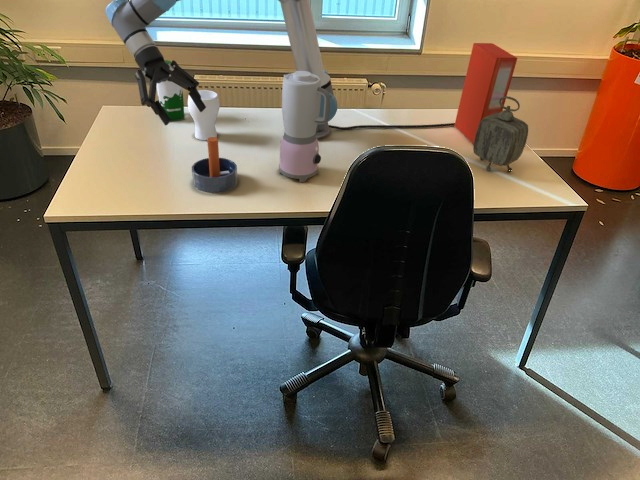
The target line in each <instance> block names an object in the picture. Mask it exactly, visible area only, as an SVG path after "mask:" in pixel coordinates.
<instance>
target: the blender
mask: <svg viewBox="0 0 640 480" xmlns="http://www.w3.org/2000/svg"><path fill="white" fill-rule="evenodd" d="M295 71H296V70H295ZM295 71H293V72H289V73H285V74H283V78H282V88H281V89H282V91H281V114H282V123H283V128H284V130H283V131H284V133H283V135H282V138H281V139H280V142H279V167H278V169H279V170H278V171H279V174H280V175H281V174H282V175H283V176H285V177H288V178H291V179H295V180H299V183H306V182H307V179H309V178H312V177H313V176H316V175H318V170H319V169H318V168H319V164H320V163H321V160H322V156H321V155H320V154H319V153H320V144H319V139H317V138H316V134H315V133H316V127H317V123H326V122H327V121H328V119H329V112H330V94H329V92H328V91H327V90H325V89H323V88H321V80H320V78H319V77H318V76H316V75H314V74H311V73H310V72H307V71H296V72H295ZM321 95H323V96H324V98H325V100H324V114H323V117H319V113H320V101H321Z"/></svg>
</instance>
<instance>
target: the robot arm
mask: <svg viewBox="0 0 640 480" xmlns="http://www.w3.org/2000/svg"><path fill="white" fill-rule="evenodd" d="M180 1H181V0H112V1H110V2H109V3H108V4H107V6H106V7H105V16H106V17H107V19H108V20H109V22H110V24H111V27H112V28H113V29H114V31H115V32H116V33H117V35H118V37H119V38H120V39H121V41H122V42H123V44H124V46H125V48H126V49H127V51H128V52H129V54H130V55H131V56H132V58H133V59H134V61H135V63H136V64H137V66H138V68H139V69H137V71H136V72H135V74H134V77H135V80H136V81H137V86H138V92H139V98H140V104H141V105H142V106H146V107H148V108H151V109H152V111H153V112H154V114H155V115H156V116H158V117H159V118H160V120H161V122H162V123H163V124H164V126H167V125H169V123H170V122H172V121H171V119H170V118H169V116H168V115H167V113H166V112H165V110H164V108H163V107H162V105H161V104H160V102H159V101H158V100H156V94H157V83H161V82H165V81H169V82H173V83H175V84H177V85H179V86H180V87H182V89H184V90H185V91H187V92H188V96H189V95H190V97H191V98H192V100H193V102H194V103H195V105H196V106H197V108H198V109H199V111H200V112H202V111H203V110H204V109H205V108H206V106H205V104H204V103H203V101H202V100H201V95H200V94H199V92H198V91H197V90H198V89H197V87H198V86H199V85H200V82H199V81H198V80H197V79H195V77H193V76H192V75H191V74H189V73H188V72H187V71H185V70H184V68H182V67H181V66H180V65H179V64H178V62H177V61H176V60H174V59H172V60H171V63H169V64H167V63H166V62H165V61H164V60H165V59H164V55H163V54H162V52H161V51H160V49H159V47H157V45H156V42H155V41H154V39H153V38H152V36H151V35H150V33H149V31H148V30H147V28H146V27H147V26H149V25H150V24H151V23H153V22H154V21H156V20H157V19H158V18H159V17H161V16H162V15H163V14H165V13H166V12H169V11H170V10H171V9H172V8H173V7H174V6H175V5H176V4H177V2H180ZM277 1H278V2H279V3H280V8H281V12H282V17H283V20H284V24H285V28H286V32H287V37H288V41H289V45H290V50H291V55H292V58H293V62H294V66H295V71H294V72H296V71H307V72H310V73H311V74H314V75H316V76H318V77H319V78H320V80H321V88H323V89H325V90H327V91H328V92H329V94H330V112H329V119H328V121H327V122H326V123H317V127H316V133H315V134H316V138H317V140H321V139H325V138H326V137H328V136H329V134H330V129H334V130H339V131H349V130H354V129H413V128H414V129H420V128H421V129H422V128H439V127H440V128H441V127H452V126H453V127H455V126H454V125H455V122H450V123H449V122H448V123H435V124H402V125H401V124H399V125H398V124H397V125H396V124H364V125H363V124H360V125H359V124H358V125H351V126H347V127H346V126H345V127H344V126H337V125H330V124H329V122H330V121H332V119H334V117H335V116H336V114H337V112H338V99H336V96H335V94H334V90H333V85H332V81H331V80H332V79H331V76H330V75H329V73H328V71H327V70H326V69H325V68H324V64H323V60H322V59H323V58H322V55H321V50H320V44H319V39H318V35H317V30H316V26H315V21H314V16H313V15H314V14H313V11H312V5H311V1H310V0H277ZM170 75H171V76H170ZM169 76H170V77H169ZM146 78H147V79H148V80H149V82H148V85H149V86H147V80H146ZM147 87H148V88H147ZM324 100H325V98H324V96H323V95H321V101H320V113H319V117H323V114H324Z"/></svg>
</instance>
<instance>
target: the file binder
mask: <svg viewBox="0 0 640 480" xmlns="http://www.w3.org/2000/svg"><path fill="white" fill-rule="evenodd" d="M517 62H518V57H517V56H515V55H513V54H512V53H510V52H508V51H506V50H505V49H503V48H502V47H500V46H498V45H496V44H495V43H493V42H492V43H491V42H474V43H473V44H472V48H471V52H470V57H469V61H468V65H467V69H466V75H465V79H464V81H463V82H464V83H463V87H462V90H461V95H460V99H459V104H458V107H457V113H456V116H455V120H454V121H455V122H454V123H455V125H454V126H453V127H455V128H456V129H457V130H458V131H459V132H460V133H461V134H462V135H463V136H464V137H465V138H466V139H467V140H468V141H469V142H470V143H471V144H472V145H474V140H475V135H476V132H477V129H478V126H479V123H480V121H481V120H482V119H483V118H485V117H487V116H489V115H491V114H494V113H500V112H501V111H503V110H504V109H503V108H502V107H501V106H500V103H499V101H500V99H501V98H502V97H506V96H508V93H509V89H510V86H511V83H512V78H513V75H514V71H515V68H516V65H517ZM506 100H507V98H505V99H502V100H501V104H502V105H503V106H504V107H505V103H506Z"/></svg>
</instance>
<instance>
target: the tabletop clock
mask: <svg viewBox="0 0 640 480" xmlns="http://www.w3.org/2000/svg"><path fill="white" fill-rule="evenodd" d="M505 98H506V100H507V99H508V100H511V101H513V102H515V103H516V104H517V108H515V109H514V108H511V106H510V105H506V106H505V105H504V106H503V105H502V104H501V100H502V99H505ZM499 103H500V106H501V107H502V108H503V111H501V112H500V113H494V114H491V115H489V116H487V117H485V118H483V119H482V120H481V121H480V123H479V126H478V129H477V132H476V135H475V140H474V144H473V150H472V151H473V154H474V155H475V156H476V157H478V158H479V160H480V161H487V162H488V163H489V164H488V165H487V166H486V167H485V169H486V171H487V172H489V171H491V170H492V167H491V166H492V164H494V165H497V166H500V167H507V169H508V170H507V169H506V171H507V172H508V173H512V171H513V168H512V167H510V165H511V164H512V163H514V162H516V161H518V159H519V158H521V156H522V154H523V152H524V149H525V148H526V145H527V140H528V135H529V124H528V123H526V122H525V121H524V120H522V119H520V118H518V117H515V115H514V113H513V112H517V111H518V110H520V106H521V105H520V102H519V100H517V99H516V98H514V97H511V96H508V95H507V96H506V97H502V98H501V99H500V101H499ZM509 170H510V171H509ZM511 170H512V171H511Z"/></svg>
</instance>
